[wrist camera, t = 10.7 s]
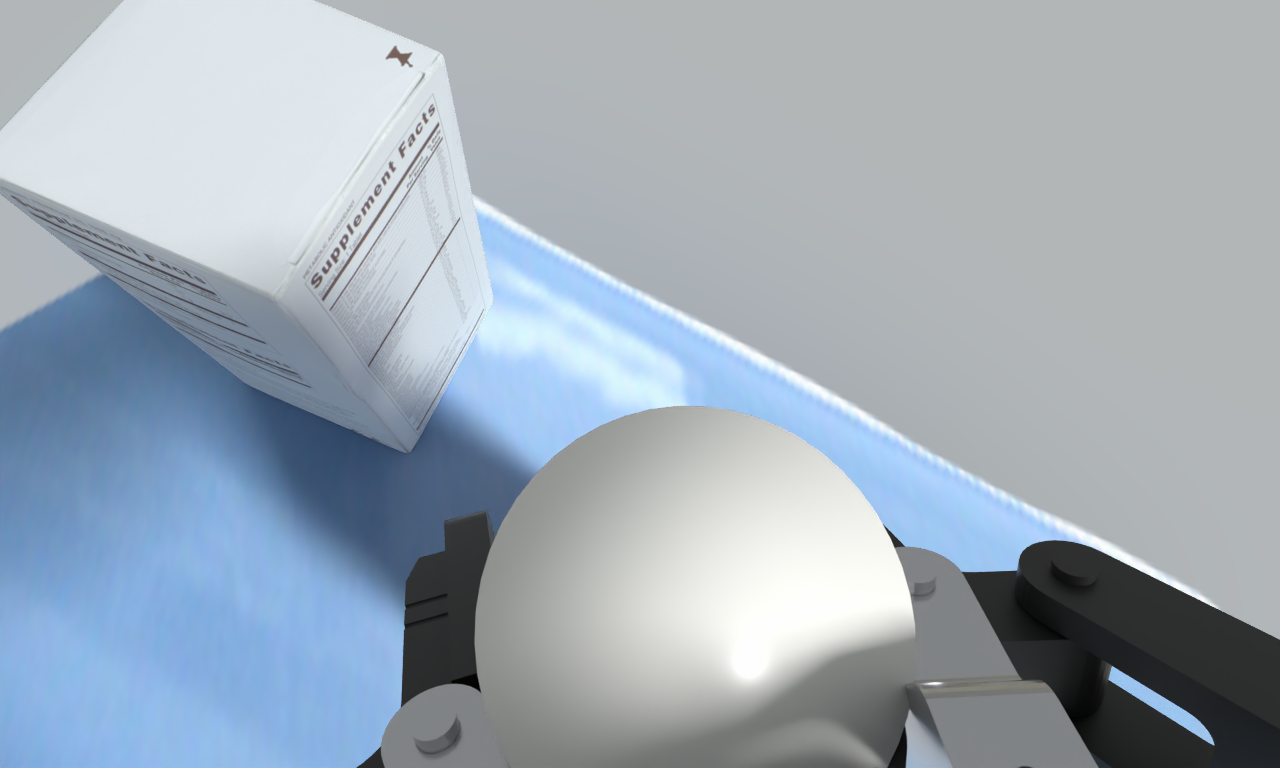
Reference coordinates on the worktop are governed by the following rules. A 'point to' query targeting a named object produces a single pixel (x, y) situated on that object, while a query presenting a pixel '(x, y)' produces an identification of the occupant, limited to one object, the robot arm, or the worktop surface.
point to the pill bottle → (694, 605)
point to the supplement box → (269, 197)
